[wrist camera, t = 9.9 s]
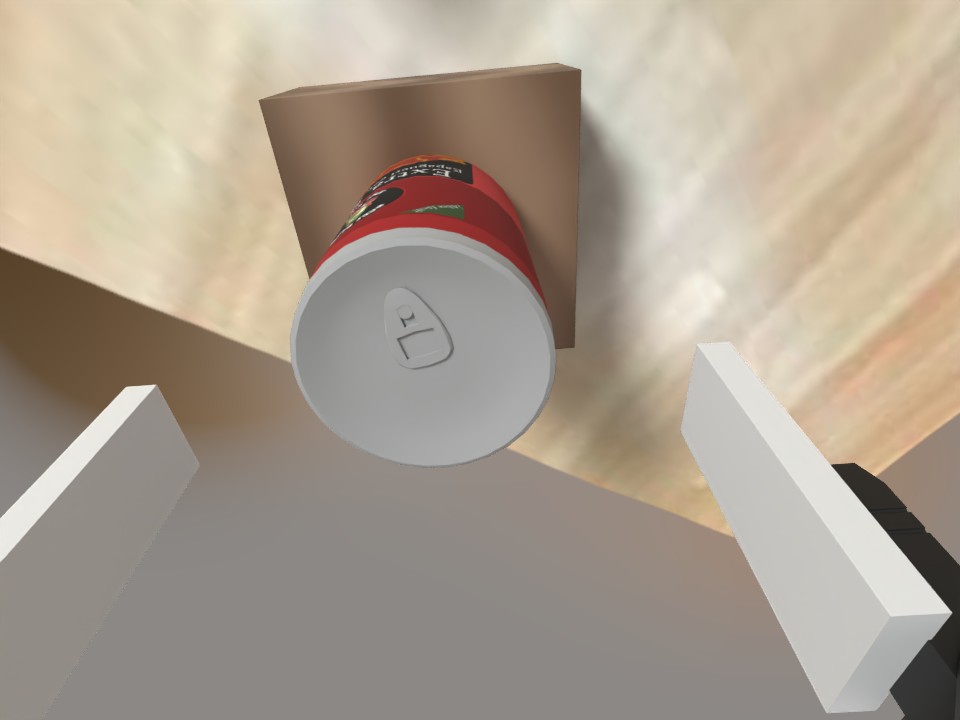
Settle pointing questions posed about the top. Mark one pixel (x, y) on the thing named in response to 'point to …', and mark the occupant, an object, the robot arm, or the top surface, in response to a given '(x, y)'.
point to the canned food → (426, 320)
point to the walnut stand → (441, 131)
